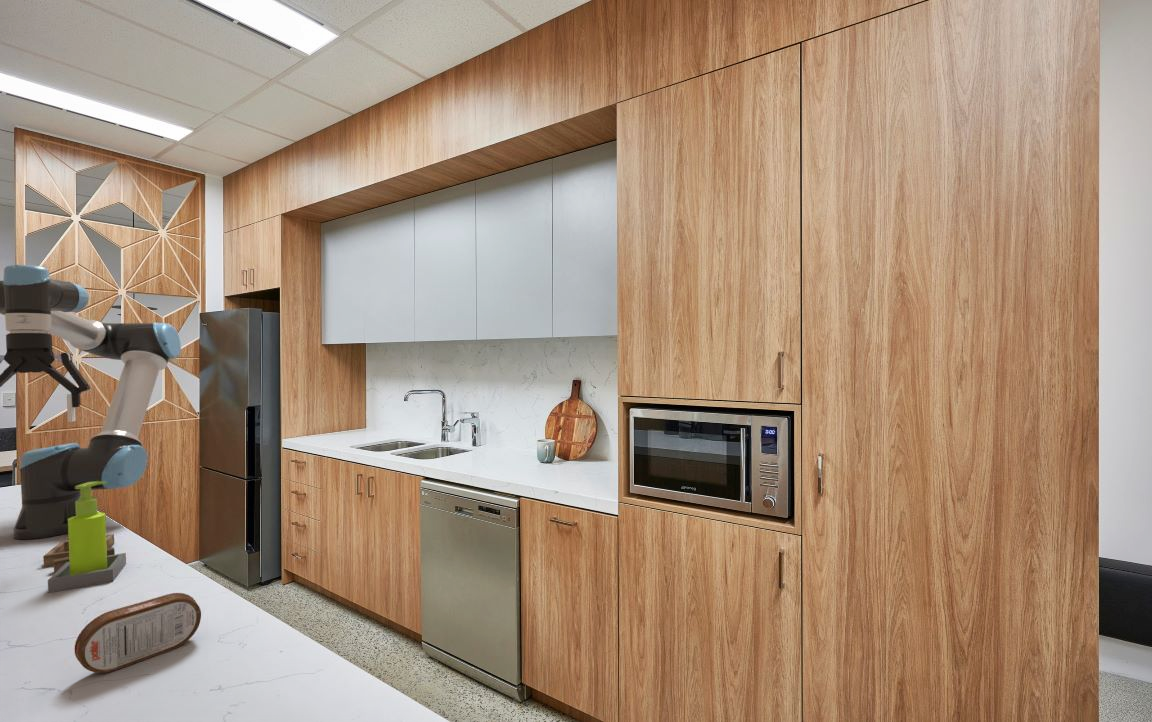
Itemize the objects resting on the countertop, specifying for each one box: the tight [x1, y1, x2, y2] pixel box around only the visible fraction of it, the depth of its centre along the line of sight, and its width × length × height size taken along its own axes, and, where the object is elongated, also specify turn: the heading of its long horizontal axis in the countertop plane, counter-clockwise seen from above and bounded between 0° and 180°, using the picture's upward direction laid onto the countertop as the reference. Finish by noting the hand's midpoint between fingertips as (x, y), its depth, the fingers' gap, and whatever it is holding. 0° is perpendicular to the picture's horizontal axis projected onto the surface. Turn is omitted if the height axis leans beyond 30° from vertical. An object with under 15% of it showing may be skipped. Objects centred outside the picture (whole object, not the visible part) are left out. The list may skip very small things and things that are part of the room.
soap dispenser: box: [67, 481, 108, 575], centre depth 114 cm, size 6×7×20 cm
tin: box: [74, 592, 202, 674], centre depth 82 cm, size 15×3×8 cm, turn 141°
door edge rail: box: [53, 546, 116, 575], centre depth 121 cm, size 2×10×2 cm, turn 136°
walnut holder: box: [42, 533, 115, 568], centre depth 128 cm, size 11×10×2 cm
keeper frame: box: [47, 552, 127, 594], centre depth 114 cm, size 11×10×2 cm
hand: (33, 424), depth 125 cm, fingers open, 13 cm apart
